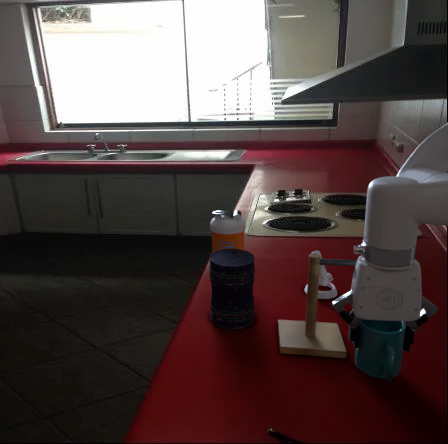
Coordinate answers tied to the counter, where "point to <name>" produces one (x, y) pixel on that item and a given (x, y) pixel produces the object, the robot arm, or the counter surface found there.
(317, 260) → the mug stand
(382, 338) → the mug
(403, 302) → the robot arm
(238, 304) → the storage jar
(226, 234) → the shaker bottle
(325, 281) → the vr controller
